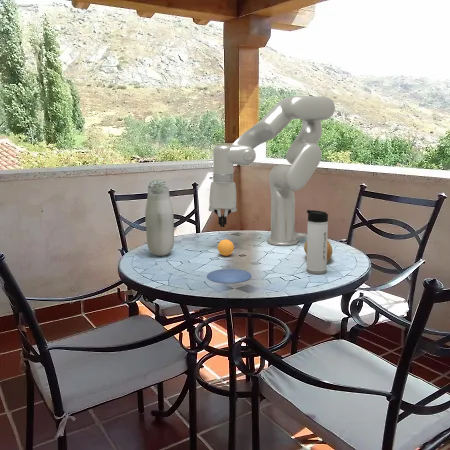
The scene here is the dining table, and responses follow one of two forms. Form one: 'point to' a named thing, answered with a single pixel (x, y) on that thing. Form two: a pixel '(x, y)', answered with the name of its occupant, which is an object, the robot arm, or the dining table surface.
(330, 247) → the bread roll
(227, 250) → the ball
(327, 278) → the dining table surface
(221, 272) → the disc
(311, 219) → the travel mug
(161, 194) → the grey beige bottle
